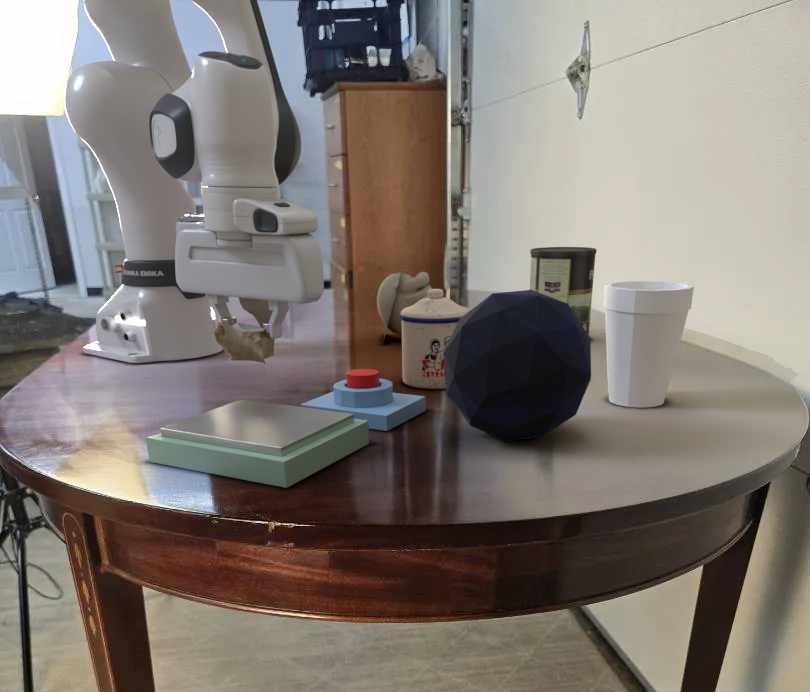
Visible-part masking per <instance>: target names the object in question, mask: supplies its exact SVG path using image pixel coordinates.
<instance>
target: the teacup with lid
mask: <svg viewBox="0 0 810 692" xmlns="http://www.w3.org/2000/svg"><path fill="white" fill-rule="evenodd" d="M444 294H445V293H444V290H443V289H442V288H432V289H430V290H428V298H424V299H421V300H419V301H418V302H417V303H416V304H414V305H412V306H410V307H407V308H404V309H403V310H402V311H401V315H400V319H402V336H401V360H402V361H401V363H402V364H401V365H402V366H401V369H402V371H401V372H402V373H401V374H402V382H403V383H404V384H405V385H407V386H408V387H412V388H416V389H424V390H446V382H445V370H444V357H443V353H444V351H445V348H446V346H447V344H448V342H449V340H450V338H451V336H452V334H453V331H454V329H455V327H456V325H457V323H458V321H459V319H460V318H461V317H463V316H464V315H465V314H466V313H468V312H469V311H470V310H471V309H469V308H468V307H466V306H464V305H460V304H457V303H456V302H455V301H453V300H452V299H451V298H448V297H444Z"/></svg>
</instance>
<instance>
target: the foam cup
mask: <svg viewBox="0 0 810 692" xmlns="http://www.w3.org/2000/svg"><path fill="white" fill-rule="evenodd" d="M694 289H695V286H694V285H692V284H690V283H684V282H679V281H678V282H677V281H663V280H624V281H623V280H622V281H614V282H609V283H606V284H604V290H603V291H604V292H603V303H602V306H603V308H604V317H605V318H604V319H605V347H606V370H607V371H606V375H607V394H608V401H609V403H611V404H614V405H617V406H622V407H627V408H638V409H639V408H641V409H642V408H653V407H658V406H662V405H663V404H665V399H666V398H667V394H668V390H669V386H670V382H671V379H672V374H673V371H674V367H675V363H676V360H677V356H678V351H679V348H680V344H681V341H682V337H683V333H684V329H685V326H686V322H687V318H688V315H689V314H688V313H689V310H691V309H692V305H693V296H694Z"/></svg>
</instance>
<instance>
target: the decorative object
mask: <svg viewBox="0 0 810 692" xmlns="http://www.w3.org/2000/svg"><path fill="white" fill-rule="evenodd" d="M404 262H405V261H403V262H402V266H401V269H400V272H396V273H392V274H389V275H387V277H385V278H384V280H383V281H382V282H381V283H380V285H379V288H378V291H377V296H376V305H377V307H376V308H377V312H378V316H379V317H380V319H381V322H382V323H383V324H384V326H385V332H384V337H383V342H382V343H384V341H385V338H386V334H387V329H388V330H389V331H390V332H392V333H394V334H396V335H400V336H401V337H402V319H400V315H401V311H402V310H403V309H404V308H407V307H410V306H412V305H414V304H416V303H417V302H418V301H419V300H421V299H424V298H428V290H430V289H433V288H432V286H431V285H430V284H429V283H430V276H429V273H428V272H426V271H421V272H418V273H417V274H416V275H414V277H412V276H411V275H409V274H407V273H404V272H403V268H404Z"/></svg>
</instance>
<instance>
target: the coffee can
mask: <svg viewBox="0 0 810 692" xmlns="http://www.w3.org/2000/svg"><path fill="white" fill-rule="evenodd" d="M596 255H597V248H595V247H588V246H587V247H585V246H547V247H534V248H531V249H530V271H529V290H533V291H536V292H538V293H541V294H544V295H546V296H549V297H552V298H554V299H557V300H560V301H562V302H565V303H568V305H569V306H570V308H571V309H572V311H573V312H574V314H575V315H576V317H577V318H578V320H579V321H580V323H581V324H582V326H583V327H584V329H585V330H586V332H587V334H588V335H589V336H590V328H591V327H590V326H591V325H590V324H591V314H592V313H591V312H592V301H593V300H592V299H593V289H594V277H595V264H596Z"/></svg>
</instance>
